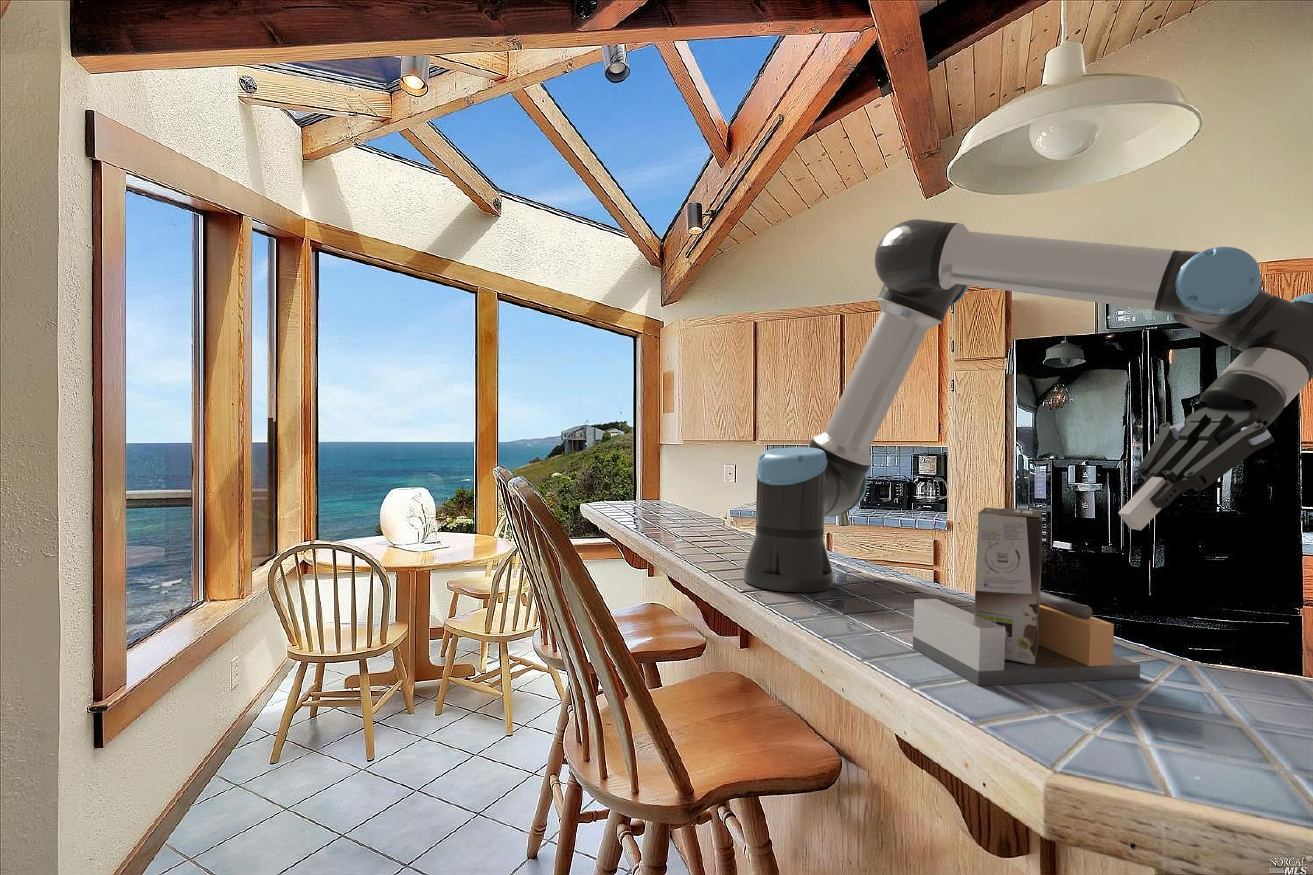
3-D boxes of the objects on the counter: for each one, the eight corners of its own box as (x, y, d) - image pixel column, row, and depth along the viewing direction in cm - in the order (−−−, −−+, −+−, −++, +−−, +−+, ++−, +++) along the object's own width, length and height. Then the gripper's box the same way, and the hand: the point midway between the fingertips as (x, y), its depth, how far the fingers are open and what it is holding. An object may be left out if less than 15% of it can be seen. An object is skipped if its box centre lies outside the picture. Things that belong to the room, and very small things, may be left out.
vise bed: (912, 648, 81) (914, 599, 81) (1054, 643, 84) (1056, 596, 84) (978, 685, 69) (980, 628, 69) (1139, 678, 73) (1141, 623, 73)
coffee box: (1037, 666, 71) (1042, 516, 71) (971, 654, 74) (976, 511, 74) (1039, 644, 79) (1044, 509, 79) (979, 634, 82) (984, 505, 82)
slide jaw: (1009, 632, 83) (1011, 585, 83) (1030, 631, 84) (1032, 585, 84) (1088, 666, 71) (1090, 611, 71) (1112, 665, 72) (1114, 610, 72)
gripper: (1326, 414, 77) (1198, 554, 75) (1214, 414, 90) (1101, 534, 87) (1293, 366, 76) (1162, 506, 74) (1184, 373, 89) (1069, 493, 86)
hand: (1129, 521), depth 81 cm, fingers closed
